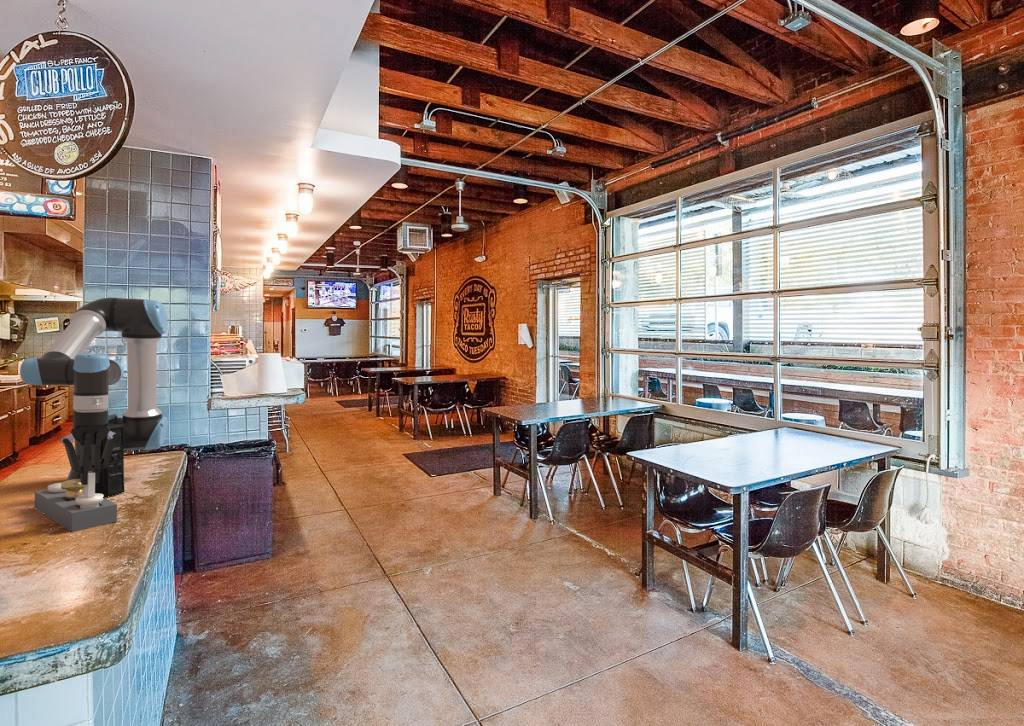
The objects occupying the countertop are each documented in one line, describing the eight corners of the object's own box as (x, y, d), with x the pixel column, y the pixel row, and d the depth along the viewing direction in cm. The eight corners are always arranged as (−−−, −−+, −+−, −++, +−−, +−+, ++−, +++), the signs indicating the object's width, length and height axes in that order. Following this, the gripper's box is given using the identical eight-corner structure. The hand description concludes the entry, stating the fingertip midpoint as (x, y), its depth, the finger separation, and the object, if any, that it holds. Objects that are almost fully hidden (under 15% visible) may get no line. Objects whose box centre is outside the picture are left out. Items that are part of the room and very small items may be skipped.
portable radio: (103, 499, 165) (104, 420, 165) (87, 497, 167) (88, 419, 166) (126, 492, 173) (127, 417, 172) (111, 490, 174) (112, 416, 173)
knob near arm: (69, 501, 161) (70, 481, 161) (77, 505, 158) (77, 484, 157) (44, 505, 156) (44, 484, 156) (51, 509, 153) (51, 488, 152)
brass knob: (83, 498, 155) (83, 477, 155) (91, 502, 151) (91, 481, 151) (57, 503, 150) (57, 481, 150) (65, 507, 146) (65, 485, 146)
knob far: (98, 513, 149) (98, 492, 149) (106, 518, 145) (107, 496, 145) (71, 519, 144) (72, 496, 144) (80, 524, 140) (80, 501, 140)
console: (76, 500, 163) (76, 484, 163) (116, 522, 147) (117, 504, 146) (34, 508, 155) (34, 491, 155) (71, 531, 138) (72, 513, 138)
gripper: (66, 413, 136) (64, 503, 137) (124, 409, 147) (123, 493, 148) (55, 410, 140) (54, 498, 141) (113, 407, 151) (112, 488, 152)
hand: (89, 495), depth 144 cm, fingers closed
